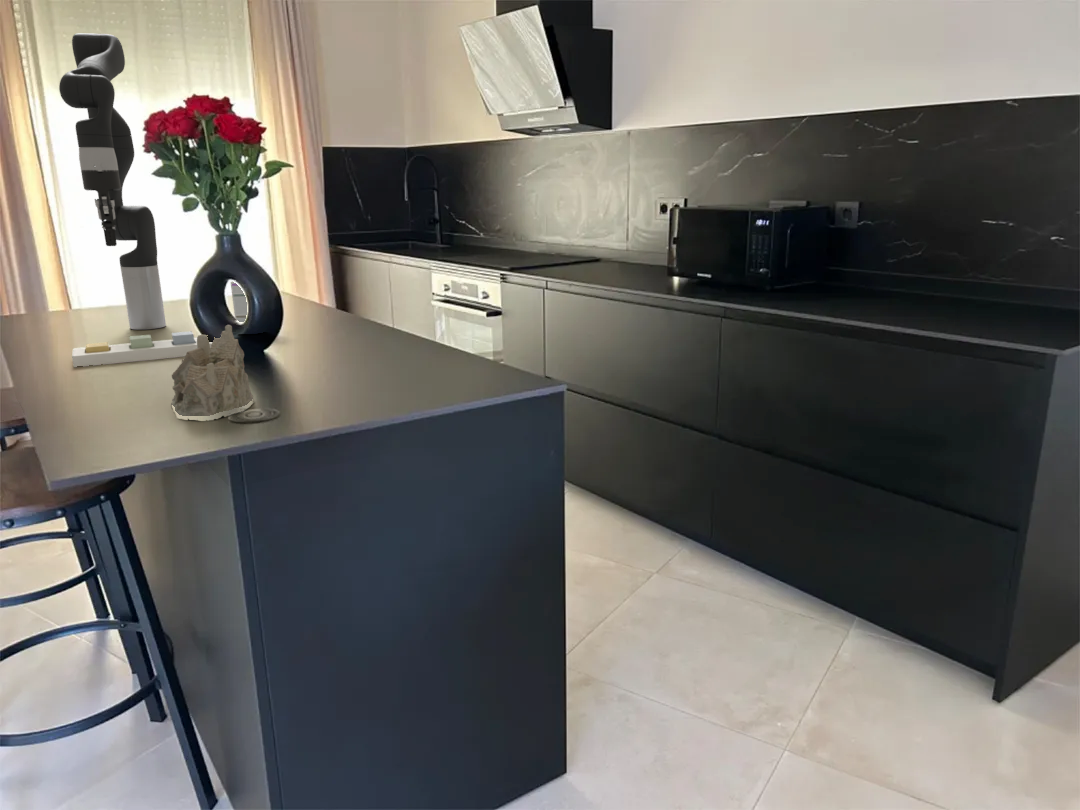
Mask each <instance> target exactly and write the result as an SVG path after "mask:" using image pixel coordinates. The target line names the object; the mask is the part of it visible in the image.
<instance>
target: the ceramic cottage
mask: <svg viewBox="0 0 1080 810" xmlns="http://www.w3.org/2000/svg"><path fill="white" fill-rule="evenodd" d="M220 335H221V337H220V338H215V337H214V340H213V342H212V345H211V348H210V344H209V340H208V337H207V336H208V335H206V334H199V335H197V349H194V350H191V351H188V352H187V353H186V356H184V357H183V359H182V360H181V363H180V364H179V365H178V366H177V369H176V370H175V371H174V372H173V373H172V374H171V378H172V380H173V381H174V382H173V386H172V389H173V392H174V395H173V398H172V401H171V404H170V406H171V405H173V406H174V407H175V411H176V412H177V413H178V414H179V415H182V416H210V415H214V414H216V413H219V412H223V411H229V410H232V409H234V408H239V407H242V406H245V405H247V404H248V403H249V402H250V401H252V399H253V400H254V396H253V393H252V392H251V389H250V383H249V382H250V381H249V376H248V374H247V372H246V370H245V363H244V362H245V361H244V357H245V352H244V350H243V349H242V347H241V346H240V344H239V339H238V338H235V336H234V333H233V326H232V325H231V324H227V325H225V326H224V330H222V331H221V334H220Z"/></svg>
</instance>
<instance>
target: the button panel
mask: <svg viewBox="0 0 1080 810" xmlns="http://www.w3.org/2000/svg"><path fill="white" fill-rule="evenodd" d="M197 337H198V336H197ZM197 337H195V336H194V343H190V344H179V345H173V339H162V340H161V339H160V340H152V346H153V347H147V348H136V349H131V343H130V342H129V343H128V342H127V343H118V344H115V343H114V344H108V346H109V351H103V352H92V353H87V352H86V346H83V347H82V346H81V347H72V348H73V349H72V352H71V353H72V355H71V358H72V359H71V360H72V364H73V368H78V367H77V366H83V367H90V366H89V365H93V366H101V364H103V365H111V364H122V363H132V362H133V363H134V362H141V361H154V360H162V359H172V358H184V357H185V356H186V353H187V352H188V351H191V350H194V349H197ZM209 344H210V348H211V345H212V342H209Z"/></svg>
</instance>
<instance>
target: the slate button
mask: <svg viewBox="0 0 1080 810" xmlns="http://www.w3.org/2000/svg"><path fill="white" fill-rule="evenodd" d="M194 335H195V334H194V333H193V331H192V330H189V331H177V332H171V338H172V339H173V345H179V344H190V343H194V337H195V336H194ZM172 339H171V340H172Z"/></svg>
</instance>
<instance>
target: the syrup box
mask: <svg viewBox="0 0 1080 810" xmlns="http://www.w3.org/2000/svg"><path fill="white" fill-rule="evenodd" d="M233 281H234V280H233ZM233 281H230V282H229V283H230V291H231V296H232V305H233V312H234V313H233V314H234V319H235V318H236V319H237V320H238V321H239V322H244V321H245V319H246V315H247V302H246V297H245V295H244V293H243V291H242V290H241V288H240V287H239V286H238V285H237V284H236V283H234V282H233Z"/></svg>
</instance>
